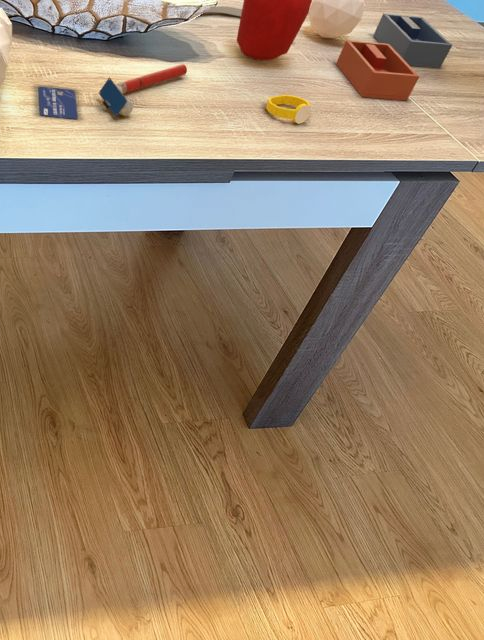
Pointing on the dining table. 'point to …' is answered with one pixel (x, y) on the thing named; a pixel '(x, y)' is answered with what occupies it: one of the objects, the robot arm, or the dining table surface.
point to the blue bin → (414, 52)
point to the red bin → (377, 72)
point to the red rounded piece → (270, 26)
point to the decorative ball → (335, 16)
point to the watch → (296, 114)
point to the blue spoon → (409, 27)
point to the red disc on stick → (374, 57)
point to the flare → (152, 78)
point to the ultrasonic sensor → (115, 99)
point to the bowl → (4, 43)
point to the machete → (226, 10)
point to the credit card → (57, 102)
